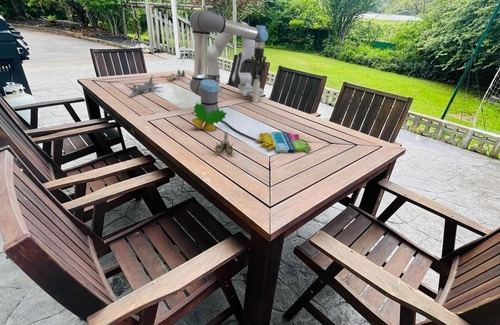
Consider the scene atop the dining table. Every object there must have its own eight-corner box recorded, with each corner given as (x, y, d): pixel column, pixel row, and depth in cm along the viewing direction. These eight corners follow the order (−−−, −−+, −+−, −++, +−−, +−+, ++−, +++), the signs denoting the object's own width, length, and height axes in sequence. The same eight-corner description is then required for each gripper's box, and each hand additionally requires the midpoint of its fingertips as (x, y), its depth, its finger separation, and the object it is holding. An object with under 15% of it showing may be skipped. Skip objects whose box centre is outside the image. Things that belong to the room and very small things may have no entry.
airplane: (123, 87, 237) (120, 75, 231) (158, 84, 250) (157, 74, 245) (127, 99, 208) (125, 87, 203) (167, 96, 221) (166, 84, 216)
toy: (193, 71, 287) (180, 75, 262) (193, 77, 291) (181, 82, 265) (170, 68, 292) (155, 72, 266) (170, 75, 296) (156, 79, 270)
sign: (313, 150, 142) (258, 149, 139) (312, 153, 143) (258, 152, 140) (301, 132, 164) (254, 130, 161) (301, 134, 165) (254, 133, 162)
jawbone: (234, 135, 144) (233, 125, 135) (233, 160, 138) (232, 151, 129) (217, 135, 144) (216, 125, 135) (216, 160, 138) (214, 150, 129)
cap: (260, 79, 213) (260, 76, 212) (255, 79, 212) (255, 76, 211) (259, 78, 217) (259, 75, 215) (253, 77, 216) (254, 75, 214)
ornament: (218, 133, 171) (224, 110, 169) (221, 134, 163) (227, 111, 161) (186, 125, 162) (192, 101, 160) (189, 126, 155) (195, 101, 153)
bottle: (254, 100, 227) (256, 75, 217) (259, 101, 224) (261, 76, 214) (250, 101, 223) (252, 76, 213) (255, 102, 220) (257, 77, 210)
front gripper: (252, 48, 196) (250, 80, 207) (271, 48, 204) (268, 79, 216) (247, 47, 201) (245, 78, 213) (265, 47, 210) (263, 77, 221)
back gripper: (238, 87, 224) (245, 91, 214) (259, 86, 233) (267, 90, 223) (238, 94, 228) (245, 99, 217) (258, 93, 236) (266, 97, 226)
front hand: (257, 78), depth 214 cm, fingers closed on cap, 4 cm apart
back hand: (256, 94), depth 220 cm, fingers closed on bottle, 5 cm apart
